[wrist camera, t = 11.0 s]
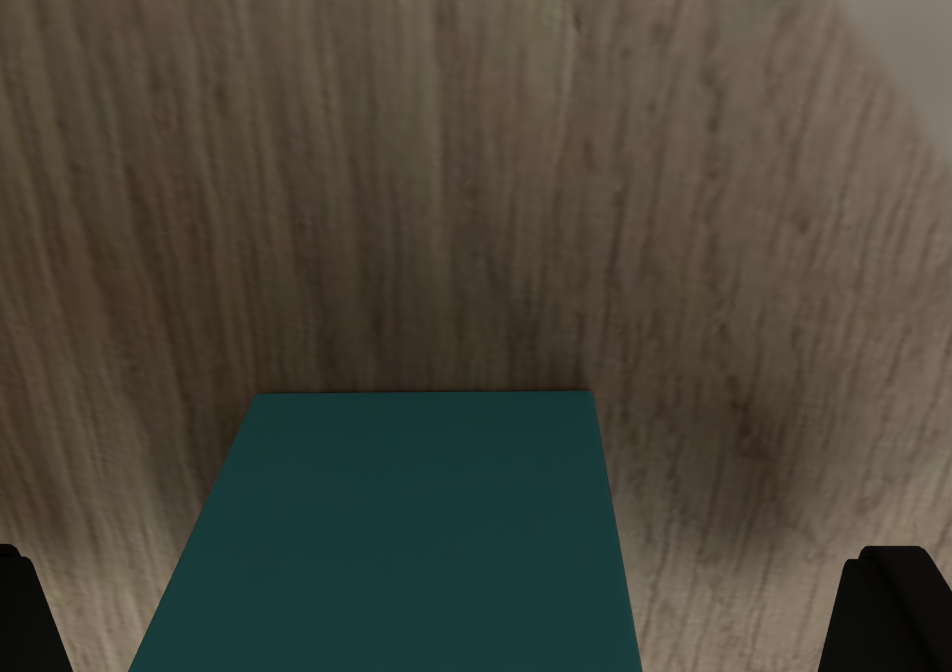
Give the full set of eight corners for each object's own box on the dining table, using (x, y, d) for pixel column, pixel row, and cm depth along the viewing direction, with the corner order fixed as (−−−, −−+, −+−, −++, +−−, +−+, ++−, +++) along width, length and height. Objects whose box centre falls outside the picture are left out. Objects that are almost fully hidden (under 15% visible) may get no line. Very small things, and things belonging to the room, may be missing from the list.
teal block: (253, 390, 10) (112, 695, 7) (593, 387, 10) (648, 698, 7) (297, 628, 13) (208, 966, 9) (581, 629, 12) (618, 973, 9)
